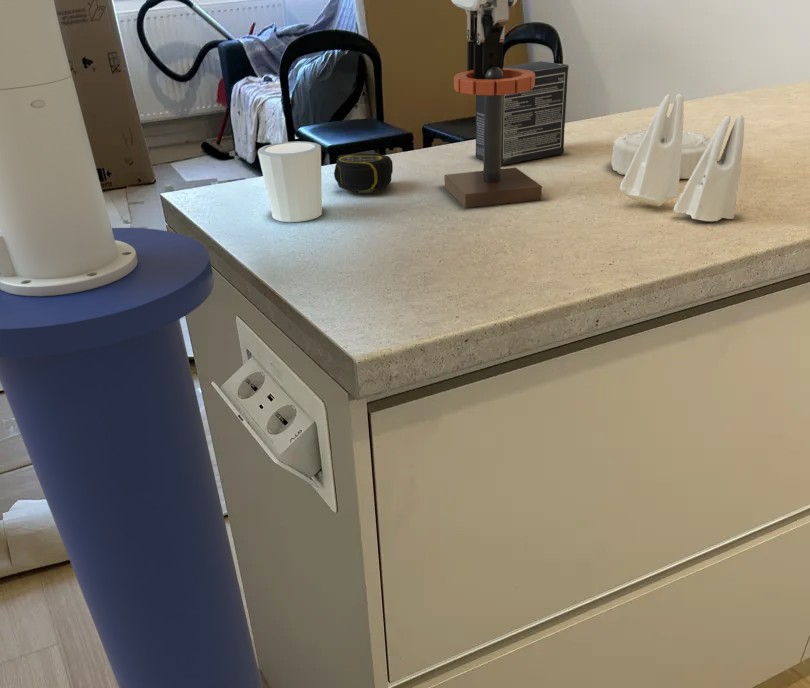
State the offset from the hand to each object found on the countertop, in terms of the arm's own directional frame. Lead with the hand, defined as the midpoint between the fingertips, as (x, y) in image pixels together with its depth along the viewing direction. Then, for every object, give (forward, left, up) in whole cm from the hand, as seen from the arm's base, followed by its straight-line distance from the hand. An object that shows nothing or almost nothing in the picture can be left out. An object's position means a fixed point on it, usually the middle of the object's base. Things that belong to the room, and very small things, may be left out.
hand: (484, 82), depth 90 cm
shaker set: (+16, -18, -11) cm, 26 cm away
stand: (0, -4, -11) cm, 12 cm away
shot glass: (-23, -4, -11) cm, 26 cm away
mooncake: (+23, -1, -11) cm, 26 cm away
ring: (0, -4, 0) cm, 4 cm away
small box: (+9, +12, -11) cm, 19 cm away
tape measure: (-14, +4, -11) cm, 19 cm away
